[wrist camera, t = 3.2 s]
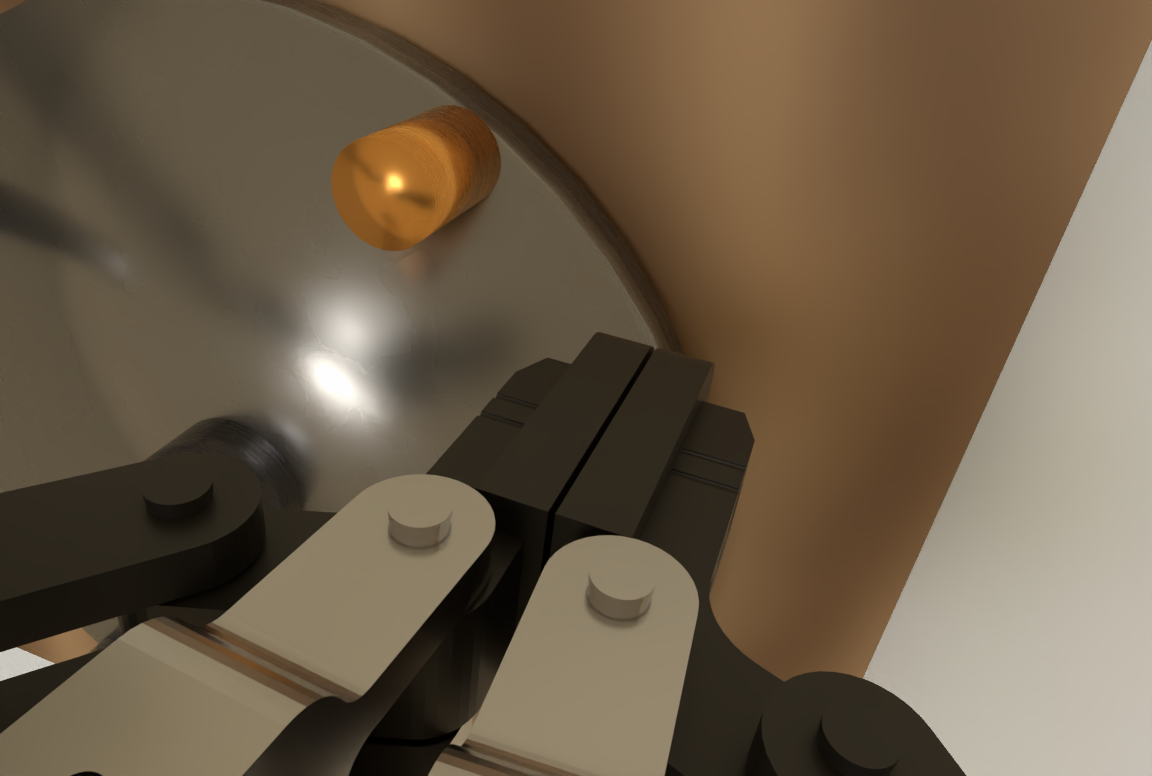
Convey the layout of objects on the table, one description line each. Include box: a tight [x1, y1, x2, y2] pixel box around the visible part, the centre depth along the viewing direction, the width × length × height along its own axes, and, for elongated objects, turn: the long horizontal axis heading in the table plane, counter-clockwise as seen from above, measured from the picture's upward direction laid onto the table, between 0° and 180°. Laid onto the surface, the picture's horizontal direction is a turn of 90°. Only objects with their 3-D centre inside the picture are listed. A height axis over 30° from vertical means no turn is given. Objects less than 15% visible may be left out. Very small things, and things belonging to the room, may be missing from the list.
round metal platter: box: [0, 0, 685, 711], centre depth 21 cm, size 23×23×4 cm
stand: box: [0, 0, 1152, 682], centre depth 23 cm, size 32×30×3 cm
